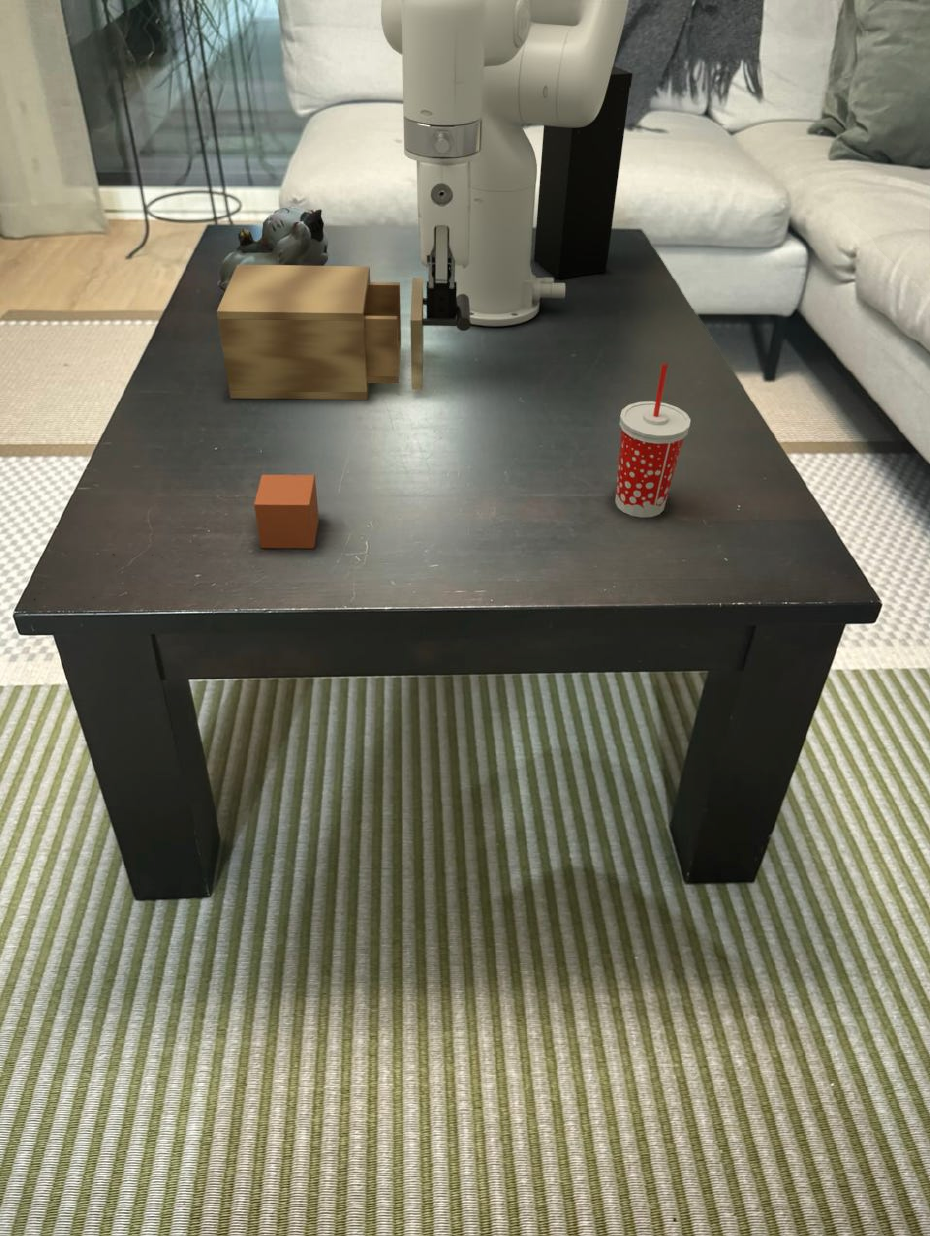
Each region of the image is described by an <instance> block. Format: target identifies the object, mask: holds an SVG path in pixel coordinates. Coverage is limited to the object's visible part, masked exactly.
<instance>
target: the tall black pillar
mask: <svg viewBox="0 0 930 1236" xmlns="http://www.w3.org/2000/svg"><path fill="white" fill-rule="evenodd" d="M632 82H633V72H630V71H628V70H625V69H623V68H620V67H617V66H615V65H613V67H612V71H611V75H610V79H609V83H608V87H607V90H606V94H605V97H604V101H603V103H602V106H601V109H600V111H599V113H598V115H597V116H596V118H595V119H594V120H593V121H592V122H591V123H590V124H588V125H586V126H583V127H577V128H572V127H557V126H548V125H543V131H542V132H543V133H542V145H541V157H540V158H541V160H540V173H539V183H538V184H539V186H538V198H537V209H536V210H537V212H536V225H535V239H534V253H533V261H535V262H536V263H537V264H538V265H540V266H541V267H542V268H543V269H545V270H546V271H548V272H549V273H550V274H551V275H553V276H554V278H557V279H565V278H571V277H580V276H584V275H585V276H586V275H593V274H599V273H606V272H607V269H608V260H609V254H610V246H611V237H612V230H613V223H614V213H615V208H616V207H615V206H616V198H617V192H618V191H617V190H618V182H619V175H620V167H621V160H622V151H623V145H624V144H623V143H624V136H625V127H626V121H627V112H628V103H629V96H630V89H631V86H632Z"/></svg>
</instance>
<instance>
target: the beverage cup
mask: <svg viewBox="0 0 930 1236" xmlns="http://www.w3.org/2000/svg"><path fill="white" fill-rule="evenodd" d="M668 366H669V364H668V363H667V362H662V365H661V368H660V373H659V380H658V386H657V392H656V396H655V401H653V400H647V401H637V402H634V403H630V404H627V405H626V406H625V407H623V408H622V409H621V410H620V411H621V412H620V416H619V423H618V424H619V426H620V428H621V432H620V442H619V444H620V445H619V454H618V455H619V456H618V466H617V477H616V489H615V499H614V500H615V501H614V502H615V505H616V507H617V509H619V510H620V511H621V512H623V514H625V515H629V516H630V517H636V518H641V519H643V518H653V517H656V516H659V515H660V514H661V513H662V512H663V511H664V510H665V507H666V502H667V499H668V496H669V493H670V492H669V491H670V488H671V485H672V481H673V478H674V474H675V471H676V467H677V463H678V461H679V456H680V452H681V449H682V445H683V441H684V438H685V437H687V435H688V434H689V430H690V425H691V418H690V417H689V415H688V413H687V412H685V411H684V410H682V409H681V408H679V407H678V406H675V405H672V404H669V403H667V402H662V399H663V394H664V389H665V384H666V383H665V382H666V377H667V372H668Z"/></svg>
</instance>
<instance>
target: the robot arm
mask: <svg viewBox="0 0 930 1236" xmlns="http://www.w3.org/2000/svg"><path fill="white" fill-rule="evenodd" d="M628 5H629V0H381V4H380V21H381V28H382V32H383V35H384V37H385V40H386V42H387V43H388V45H389V46H390V47H391V48H392V50H393V51H395V52H396V53H398V54H399V55H402V58H401V60H402V62H401V63H402V64H401V65H402V103H403V104H402V110H403V111H402V112H403V113H402V114H403V117H402V118H403V119H402V120H403V154H404V156H406V157H407V158H408V159H410V160H412V161H415V162H416V191H417V192H416V198H417V199H416V203H417V204H416V205H417V224H418V225H417V226H418V236H419V249H420V258H421V264H422V265H423V267H426V268H428V280H427V281H426V298H427V305H426V318H436V319H456V297H457V296H458V295H460V294H465V295H467V296H468V298H469V307H470V321H471V325H474V326H482V327H508V326H514V325H518V324H522V323H525V322H527V321H529V320H532V319H533V318H534V317H535V316H537V314H538V313H539V311H540V300H541V298H542V299H543V298H547V299H551V300H552V299H556V300H557V299H558V300H559V299H563V300H564V299H565V297H566V282H554V281H555V277H537V276H536V275H534V274H533V271H532V267H531V258H532V246H533V245H532V244H533V243H532V242H533V232H534V231H533V229H534V228H533V227H534V217H535V202H536V187H537V176H538V164H537V157H536V154H535V150H534V147H533V145H532V143H531V141H530V139H529V137H528V135H527V133H526V131H525V130H524V128H523V126H522V124H523V125H524V124H525V125H526V124H530V125H540V126H544V125H548V126H557V127H572V128H577V127H583V126H586V125H588V124H590V123H591V122H592V121H593V120H594V119H595V118H596V116H597V115H598V113H599V111H600V109H601V106H602V103H603V101H604V97H605V94H606V90H607V87H608V83H609V79H610V75H611V71H612V67H613V66H614V64H615V60H616V56H617V51H618V47H619V44H620V41H621V37H622V33H623V29H624V25H625V21H626V15H627V10H628Z"/></svg>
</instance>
